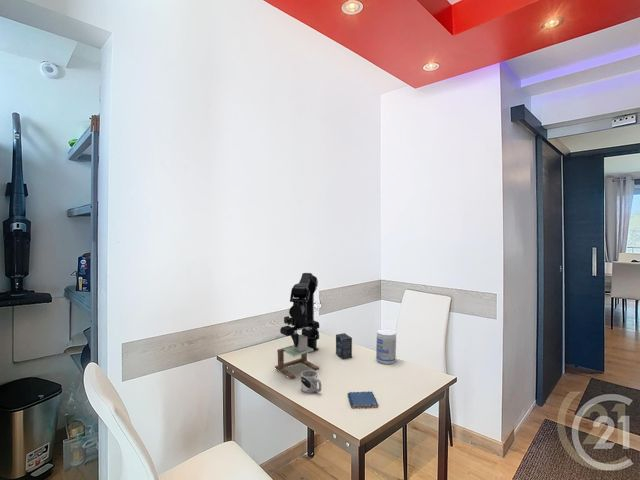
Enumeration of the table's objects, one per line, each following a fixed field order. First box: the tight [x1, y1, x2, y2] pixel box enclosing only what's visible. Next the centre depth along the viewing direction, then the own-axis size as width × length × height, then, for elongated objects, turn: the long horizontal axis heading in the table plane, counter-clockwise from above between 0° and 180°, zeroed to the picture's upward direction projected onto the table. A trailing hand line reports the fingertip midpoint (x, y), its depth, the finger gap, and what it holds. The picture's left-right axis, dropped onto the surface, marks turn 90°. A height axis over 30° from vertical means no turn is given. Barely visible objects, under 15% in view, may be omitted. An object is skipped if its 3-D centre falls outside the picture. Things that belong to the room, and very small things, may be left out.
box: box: [335, 332, 353, 360], centre depth 172 cm, size 8×6×11 cm
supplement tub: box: [375, 328, 397, 365], centre depth 165 cm, size 10×10×15 cm
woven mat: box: [347, 390, 379, 410], centre depth 127 cm, size 10×11×2 cm
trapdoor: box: [283, 345, 314, 357], centre depth 155 cm, size 9×11×1 cm
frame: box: [274, 344, 320, 380], centre depth 156 cm, size 14×16×10 cm
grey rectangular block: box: [293, 333, 307, 352], centre depth 153 cm, size 4×4×6 cm
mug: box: [300, 369, 322, 394], centre depth 136 cm, size 10×7×7 cm, turn 47°
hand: (300, 345), depth 153 cm, fingers open, 5 cm apart
